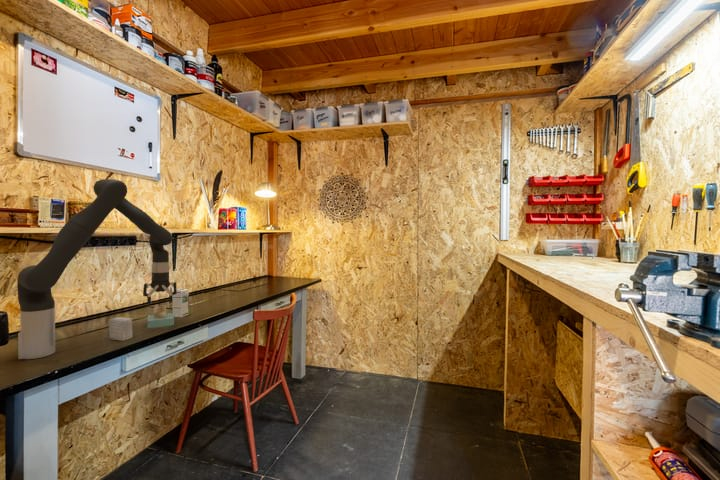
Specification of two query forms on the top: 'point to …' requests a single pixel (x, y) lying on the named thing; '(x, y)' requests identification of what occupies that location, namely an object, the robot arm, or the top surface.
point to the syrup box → (181, 303)
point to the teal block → (160, 321)
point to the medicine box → (120, 328)
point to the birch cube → (159, 312)
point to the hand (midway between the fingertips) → (160, 303)
